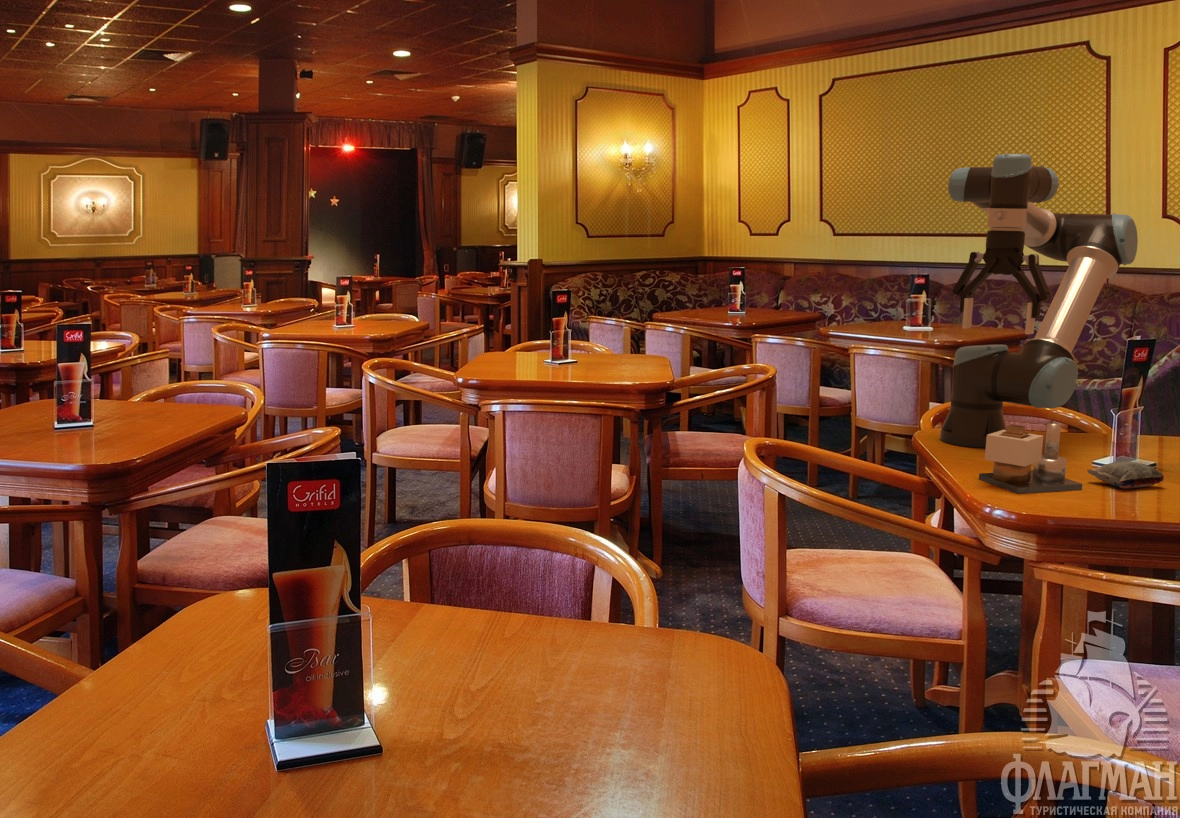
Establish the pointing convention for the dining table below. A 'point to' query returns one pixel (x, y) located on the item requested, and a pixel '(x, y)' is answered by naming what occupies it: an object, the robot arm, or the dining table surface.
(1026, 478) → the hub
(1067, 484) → the jig plate
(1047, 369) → the robot arm
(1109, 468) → the packaged food
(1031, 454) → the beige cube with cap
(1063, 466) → the stand
